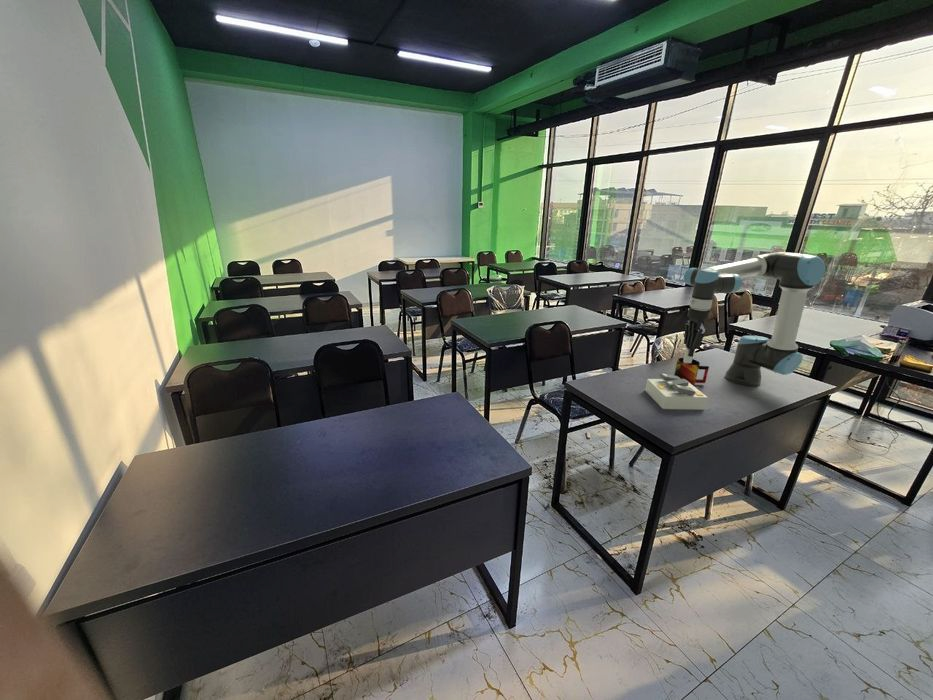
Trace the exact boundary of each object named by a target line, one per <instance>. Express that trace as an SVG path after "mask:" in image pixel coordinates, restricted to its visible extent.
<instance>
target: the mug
mask: <svg viewBox="0 0 933 700" xmlns="http://www.w3.org/2000/svg"><path fill="white" fill-rule="evenodd" d="M683 360H684V357H678V358H677V359H676V365H675V368H674V374H673V375H675V376H678V377H679V378H680V379H685V380H687V381H688V382H689V383H690V384H692V385H693V386H694V387H695V385H696V384H706V381H707V377H708V373H709V368H710V366H709V365H700V364H701V362H699V361H698V360H696V359H694V358H692V362H691V363H684V362H683ZM699 370H704V373H703V378H702V379H698V378H697V376H698V372H699Z"/></svg>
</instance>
